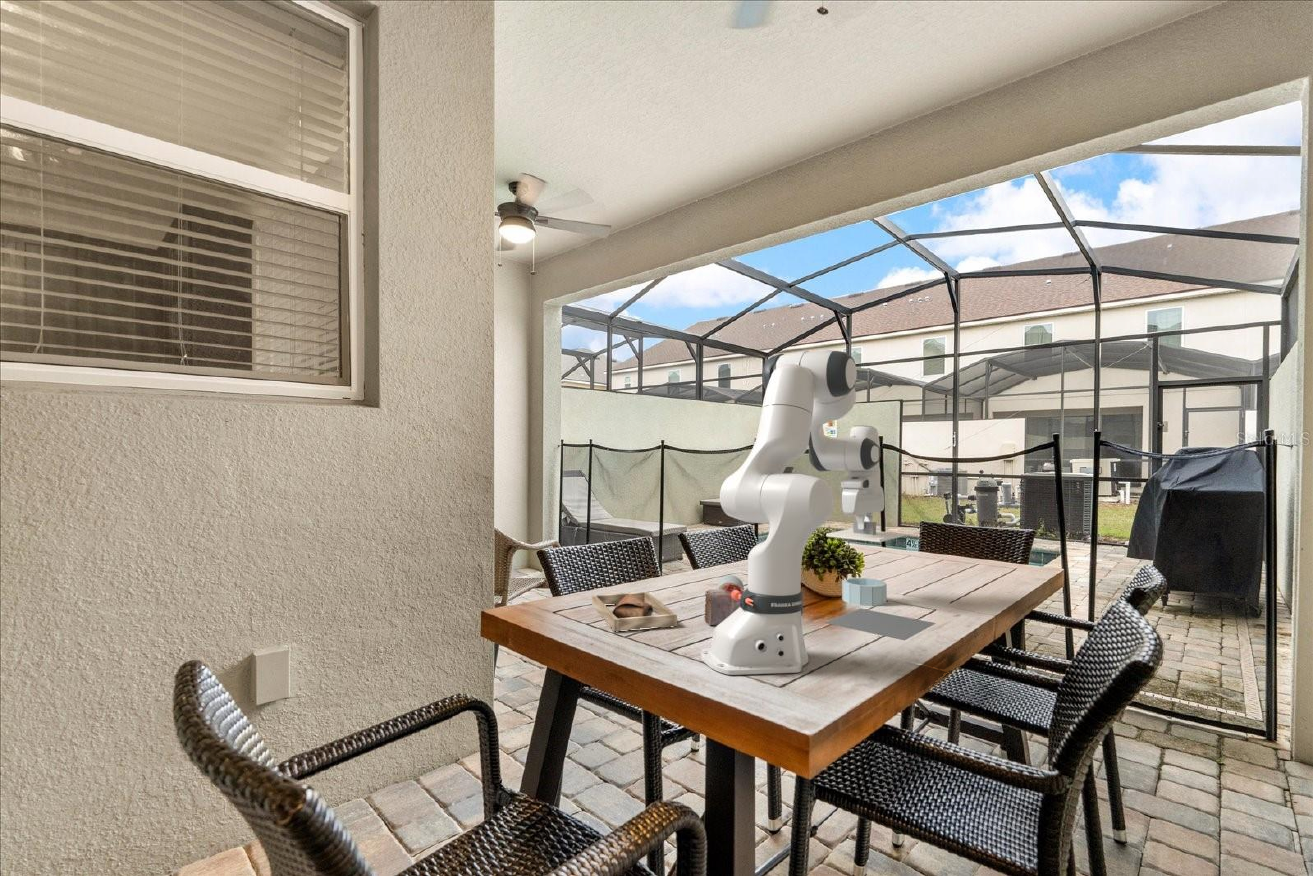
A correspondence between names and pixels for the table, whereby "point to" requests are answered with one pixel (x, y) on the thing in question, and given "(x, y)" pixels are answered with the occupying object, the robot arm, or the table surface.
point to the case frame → (618, 624)
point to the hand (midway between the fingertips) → (864, 528)
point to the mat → (881, 623)
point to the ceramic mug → (730, 582)
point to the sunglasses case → (631, 607)
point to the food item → (720, 604)
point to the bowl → (864, 591)
